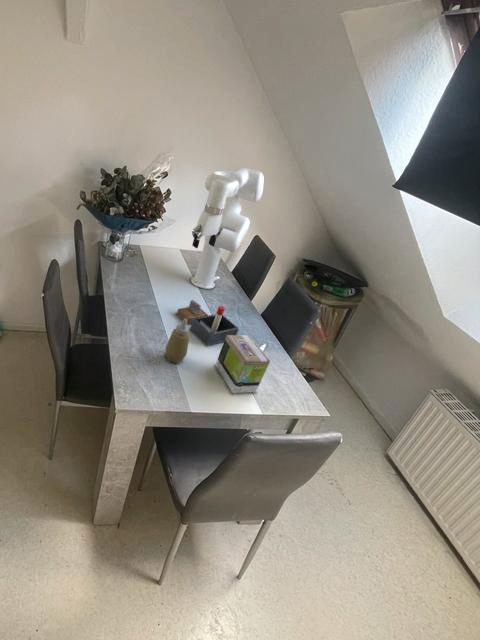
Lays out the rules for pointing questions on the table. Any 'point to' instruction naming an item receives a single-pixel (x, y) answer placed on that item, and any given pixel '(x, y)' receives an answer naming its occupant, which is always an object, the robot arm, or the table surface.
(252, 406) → the table surface
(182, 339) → the squeeze bottle
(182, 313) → the tap block
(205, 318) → the sink basin
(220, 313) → the marker
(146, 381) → the table surface
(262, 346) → the unicorn horn
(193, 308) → the tap handle
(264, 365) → the tea box
